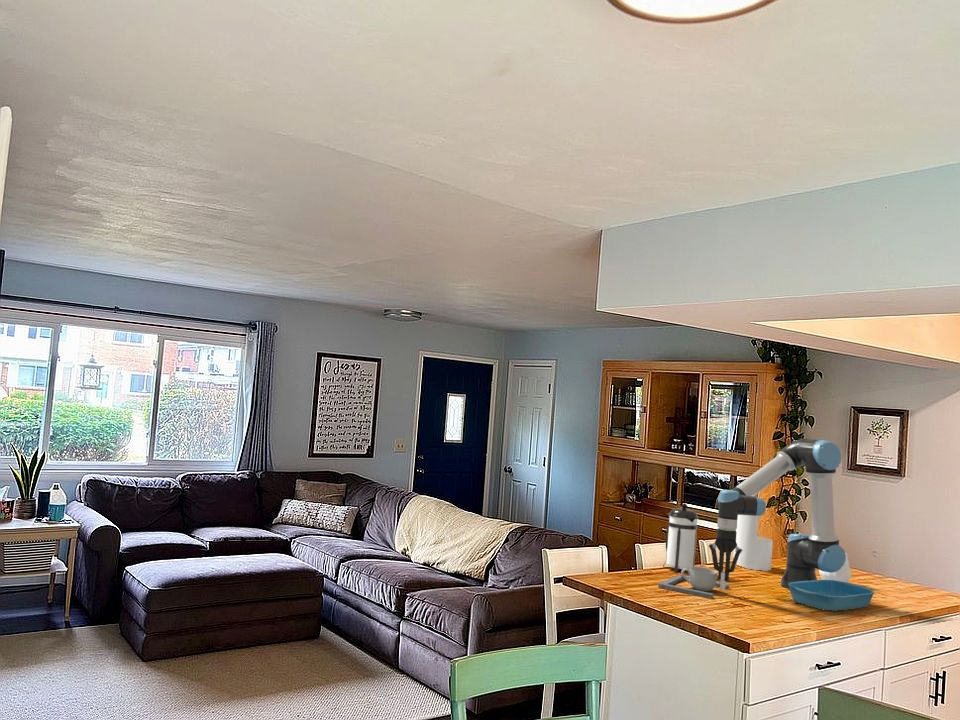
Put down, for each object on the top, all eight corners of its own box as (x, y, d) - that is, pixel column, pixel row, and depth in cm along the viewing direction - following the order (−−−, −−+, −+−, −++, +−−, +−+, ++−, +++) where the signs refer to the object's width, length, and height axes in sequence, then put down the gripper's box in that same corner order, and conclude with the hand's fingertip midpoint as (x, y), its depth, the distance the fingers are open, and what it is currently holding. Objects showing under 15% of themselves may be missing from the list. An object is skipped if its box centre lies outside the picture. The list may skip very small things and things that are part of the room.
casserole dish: (827, 615, 291) (829, 596, 291) (776, 600, 310) (777, 581, 310) (883, 609, 311) (884, 591, 311) (832, 595, 329) (833, 578, 330)
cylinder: (736, 568, 370) (740, 508, 372) (730, 561, 387) (734, 504, 389) (774, 572, 368) (778, 512, 369) (767, 565, 385) (770, 508, 386)
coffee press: (701, 570, 356) (706, 504, 357) (690, 575, 342) (695, 506, 344) (664, 563, 365) (669, 499, 367) (652, 568, 351) (657, 501, 353)
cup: (818, 582, 352) (820, 551, 353) (818, 577, 365) (820, 547, 366) (851, 588, 347) (853, 556, 348) (849, 582, 360) (851, 552, 360)
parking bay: (729, 588, 323) (729, 584, 323) (711, 598, 300) (711, 594, 300) (678, 578, 334) (679, 574, 334) (658, 587, 312) (658, 583, 312)
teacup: (716, 588, 319) (717, 569, 320) (715, 594, 309) (717, 573, 309) (681, 583, 323) (682, 564, 324) (679, 588, 313) (681, 568, 314)
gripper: (708, 527, 313) (703, 586, 311) (741, 532, 306) (737, 593, 305) (713, 525, 319) (708, 584, 318) (745, 530, 312) (741, 590, 311)
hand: (722, 588), depth 311 cm, fingers closed
